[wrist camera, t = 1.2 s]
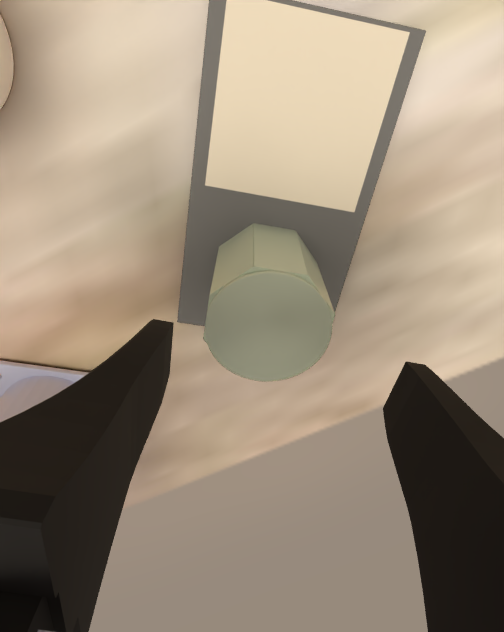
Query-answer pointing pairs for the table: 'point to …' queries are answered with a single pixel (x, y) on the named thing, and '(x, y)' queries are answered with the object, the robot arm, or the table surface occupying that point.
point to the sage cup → (267, 305)
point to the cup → (5, 64)
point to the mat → (290, 131)
